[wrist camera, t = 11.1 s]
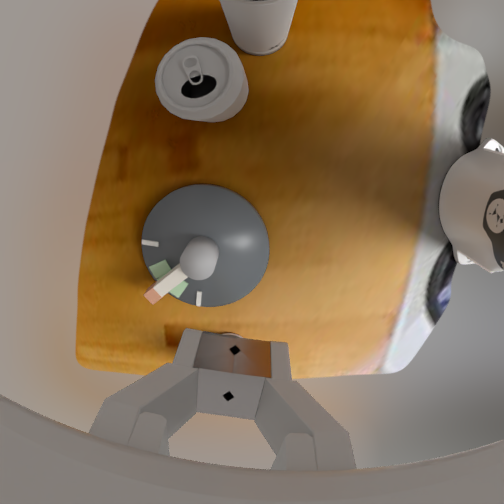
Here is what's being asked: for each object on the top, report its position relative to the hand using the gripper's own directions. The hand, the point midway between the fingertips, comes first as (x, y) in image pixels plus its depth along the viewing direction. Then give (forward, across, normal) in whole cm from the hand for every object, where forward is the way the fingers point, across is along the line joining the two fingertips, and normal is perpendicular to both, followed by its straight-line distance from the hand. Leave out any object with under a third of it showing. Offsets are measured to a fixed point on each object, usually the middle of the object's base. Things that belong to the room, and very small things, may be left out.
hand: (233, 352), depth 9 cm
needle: (+28, +7, +11) cm, 31 cm away
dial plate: (+29, +5, +9) cm, 31 cm away
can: (+29, +6, -10) cm, 32 cm away
